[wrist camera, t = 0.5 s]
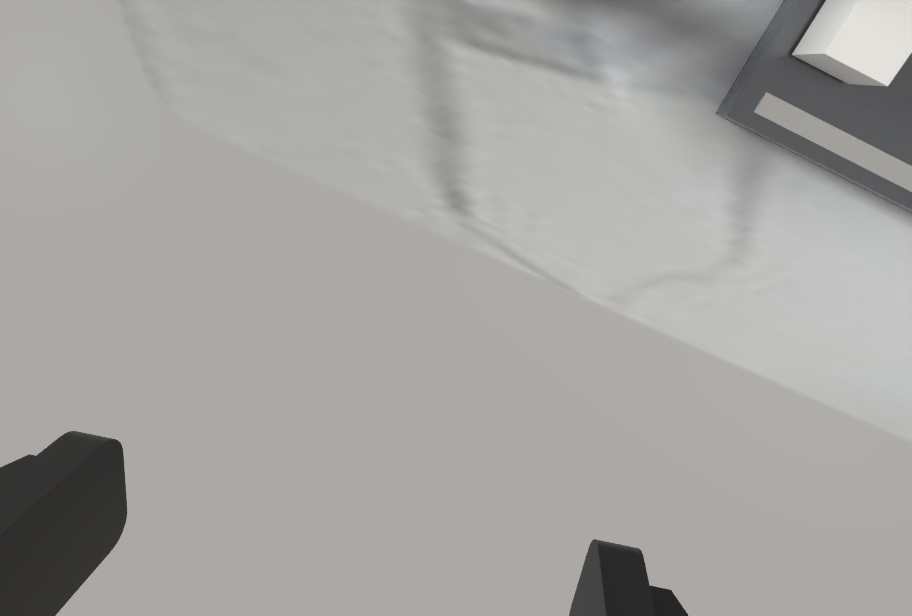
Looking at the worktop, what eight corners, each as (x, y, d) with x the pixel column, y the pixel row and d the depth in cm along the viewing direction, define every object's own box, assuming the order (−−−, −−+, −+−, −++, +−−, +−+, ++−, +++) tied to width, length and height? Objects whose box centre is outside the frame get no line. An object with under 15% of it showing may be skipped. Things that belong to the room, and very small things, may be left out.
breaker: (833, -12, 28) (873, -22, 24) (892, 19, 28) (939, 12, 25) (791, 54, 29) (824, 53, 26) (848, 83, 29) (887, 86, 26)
